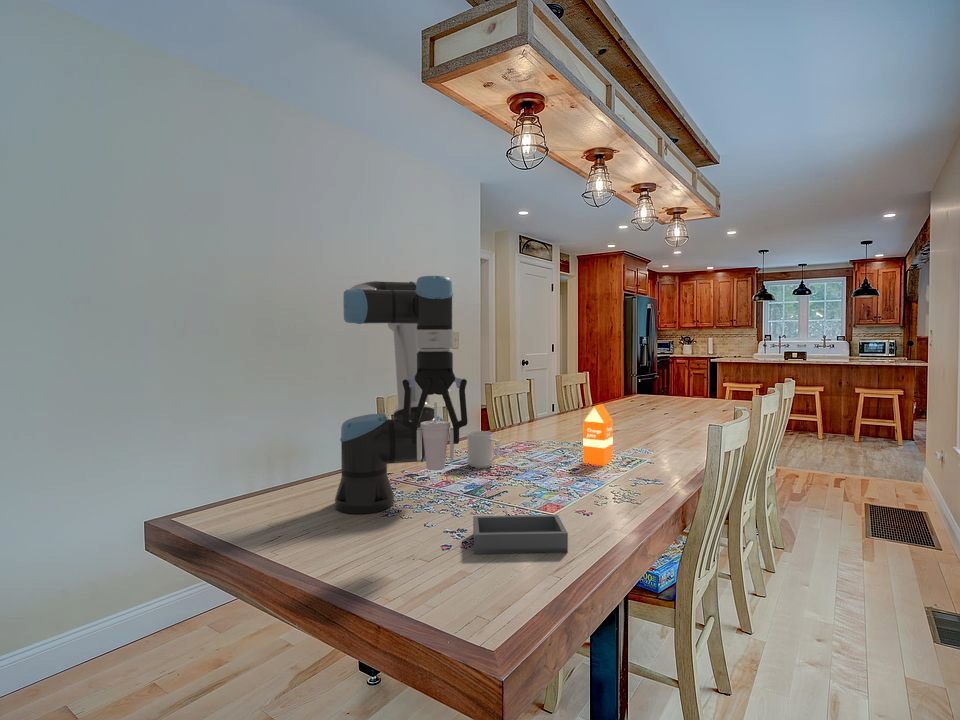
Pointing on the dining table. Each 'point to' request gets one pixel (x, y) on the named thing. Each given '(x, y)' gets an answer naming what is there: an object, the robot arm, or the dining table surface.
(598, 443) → the orange juice
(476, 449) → the mug
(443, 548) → the dining table surface
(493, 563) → the dining table surface
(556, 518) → the tray
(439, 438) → the smoothie
